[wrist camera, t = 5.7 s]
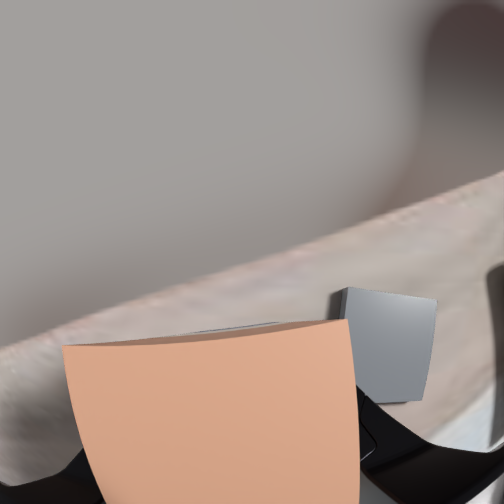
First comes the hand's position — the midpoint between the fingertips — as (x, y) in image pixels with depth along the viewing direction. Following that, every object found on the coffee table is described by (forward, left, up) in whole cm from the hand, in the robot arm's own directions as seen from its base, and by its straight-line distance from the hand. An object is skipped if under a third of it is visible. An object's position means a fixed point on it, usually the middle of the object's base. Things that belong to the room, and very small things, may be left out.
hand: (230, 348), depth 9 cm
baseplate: (+5, -9, -9) cm, 14 cm away
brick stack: (-1, -1, -7) cm, 7 cm away
